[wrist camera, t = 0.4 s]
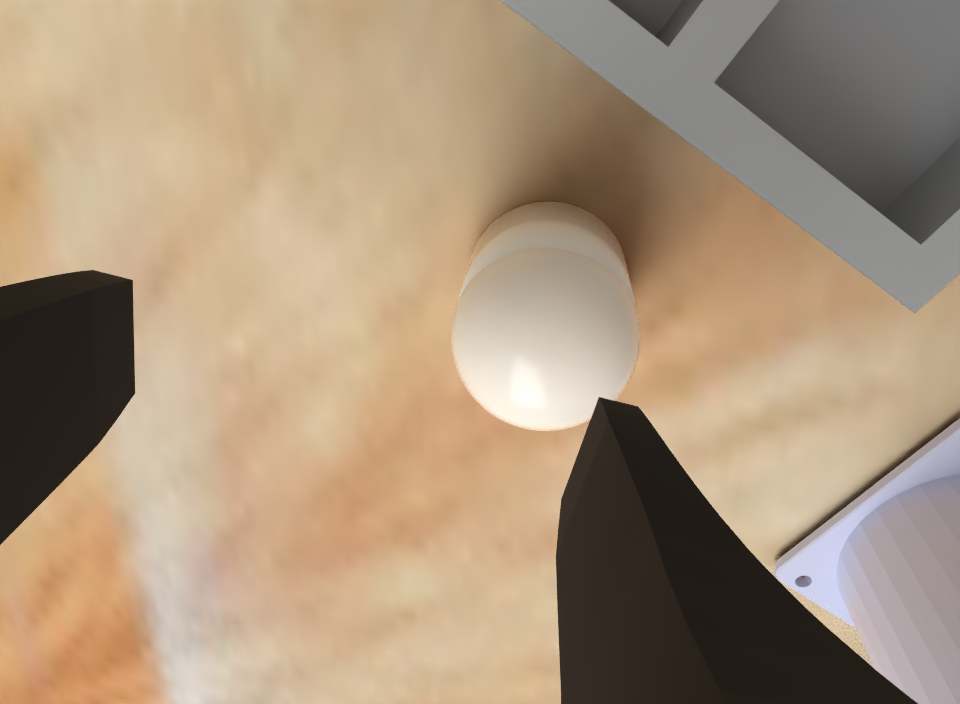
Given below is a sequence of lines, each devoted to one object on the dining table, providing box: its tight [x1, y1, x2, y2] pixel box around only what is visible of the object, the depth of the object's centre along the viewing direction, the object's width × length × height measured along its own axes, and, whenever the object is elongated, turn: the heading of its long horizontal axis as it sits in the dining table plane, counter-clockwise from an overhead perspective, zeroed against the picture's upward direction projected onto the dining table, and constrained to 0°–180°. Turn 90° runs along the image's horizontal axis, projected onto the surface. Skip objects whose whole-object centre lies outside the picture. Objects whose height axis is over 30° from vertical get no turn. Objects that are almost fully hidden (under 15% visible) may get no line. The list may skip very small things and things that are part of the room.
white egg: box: [451, 201, 640, 431], centre depth 17 cm, size 4×4×6 cm
